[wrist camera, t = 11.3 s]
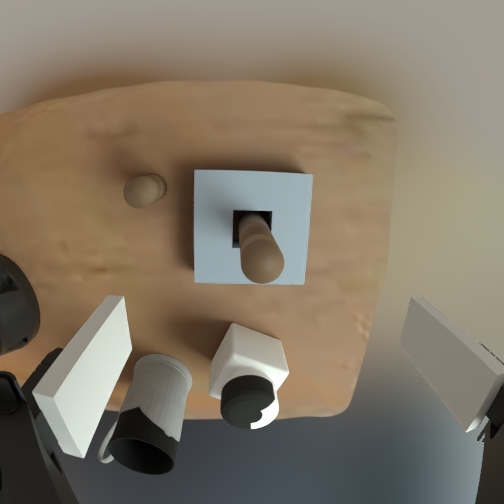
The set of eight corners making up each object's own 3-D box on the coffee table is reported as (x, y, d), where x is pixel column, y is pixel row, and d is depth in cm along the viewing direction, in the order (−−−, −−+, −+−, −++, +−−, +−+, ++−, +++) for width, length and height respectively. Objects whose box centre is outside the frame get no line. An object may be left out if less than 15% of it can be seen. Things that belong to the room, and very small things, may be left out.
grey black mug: (204, 384, 41) (196, 468, 26) (139, 416, 42) (119, 487, 28) (163, 343, 38) (136, 425, 24) (101, 381, 40) (66, 451, 26)
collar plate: (197, 273, 36) (194, 282, 33) (198, 169, 32) (194, 169, 30) (298, 275, 37) (303, 284, 34) (306, 173, 33) (312, 174, 30)
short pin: (141, 200, 33) (124, 208, 27) (141, 174, 32) (123, 177, 26) (167, 200, 33) (153, 208, 27) (167, 174, 32) (153, 176, 27)
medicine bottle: (210, 361, 39) (204, 426, 28) (232, 320, 38) (231, 382, 26) (257, 377, 41) (265, 441, 29) (281, 339, 39) (298, 401, 28)
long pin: (237, 236, 35) (239, 283, 21) (239, 210, 34) (241, 241, 21) (264, 237, 35) (282, 284, 22) (265, 211, 34) (286, 243, 21)
